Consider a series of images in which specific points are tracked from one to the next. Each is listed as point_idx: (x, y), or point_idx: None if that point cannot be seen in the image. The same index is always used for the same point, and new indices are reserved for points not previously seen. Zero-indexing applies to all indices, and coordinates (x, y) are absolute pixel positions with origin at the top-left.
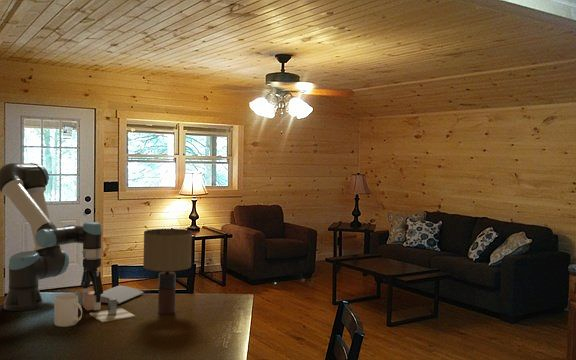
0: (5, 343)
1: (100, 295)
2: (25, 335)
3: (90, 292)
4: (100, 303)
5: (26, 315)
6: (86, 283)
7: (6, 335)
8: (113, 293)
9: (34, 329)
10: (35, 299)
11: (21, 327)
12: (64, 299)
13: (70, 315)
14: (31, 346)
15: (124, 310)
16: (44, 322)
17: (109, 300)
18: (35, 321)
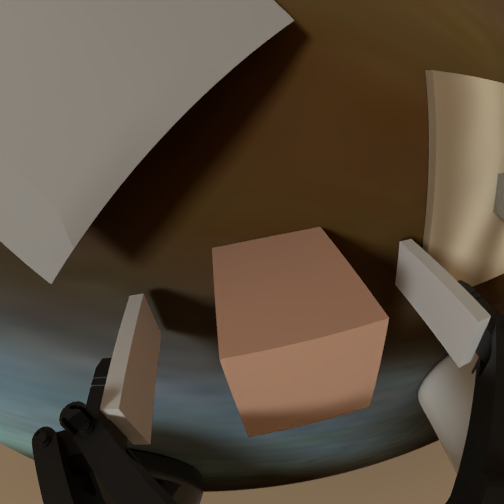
0: None
1: (483, 311)
2: None
3: (293, 397)
4: (437, 266)
5: (262, 469)
6: (164, 494)
7: (414, 449)
8: (14, 55)
9: (424, 424)
10: (176, 496)
11: (384, 449)
12: (461, 454)
13: None
14: None
15: (487, 88)
16: (385, 425)
17: None
18: (354, 444)
